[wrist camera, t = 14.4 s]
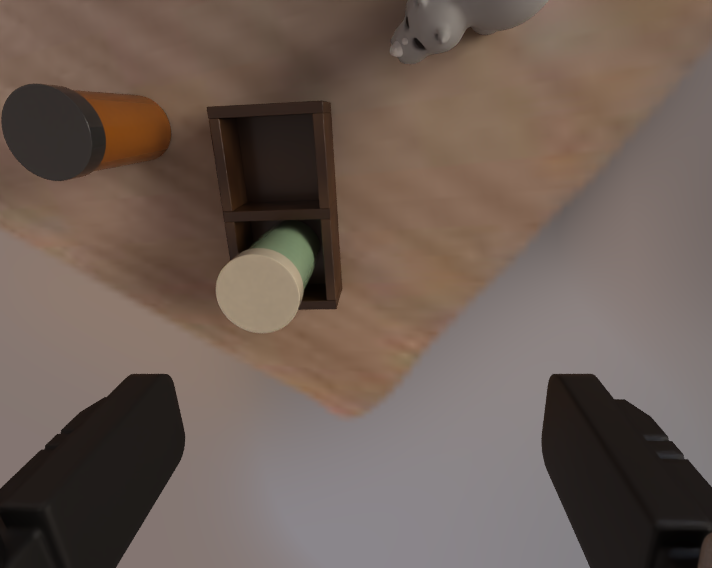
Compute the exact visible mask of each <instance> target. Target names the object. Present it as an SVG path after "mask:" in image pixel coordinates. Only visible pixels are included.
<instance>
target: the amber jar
mask: <svg viewBox="0 0 712 568" xmlns="http://www.w3.org/2000/svg"><path fill="white" fill-rule="evenodd" d="M1 119H2V130H3V134H4V138H5V140H6V143H7V145H8V147H9V149H10V150H11V152H12V154H13V155H14V156H15V158H16V159H17V160H18V161H19V162H20V163H21V164H22V165H23V166H24V167H25V168H26V169H27V170H29V171H30V172H32V173H33V174H35V175H37V176H39V177H42V178H44V179H48V180H53V181H64V180H70V179H74V178H79V177H83V176H86V175H88V174H90V173H92V172H94V171H99V170H104V169H109V168H114V167H120V166H125V165H130V164H135V163H140V162H146V161H151V160H154V159H157V158H159V157H160V156H161V155H163V154H164V153H165V151H166V150H167V148H168V146H169V144H170V140H171V128H170V123H169V121H168V118H167V116H166V114H165V113H164V111H163V110H162V109H161V107H160V106H159V105H158V104H157V103H155V102H154V101H152V100H151V99H149V98H147V97H144V96H140V95H130V94H117V93H104V92H91V91H78V90H71V89H69V88H66V87H63V86H57V85H47V84H28V85H24V86H21V87H20V88H18V89H16V90H15V91H14V92H12V93H11V94H10V96H9V97H8V98H7V100H6V102H5V104H4V107H3V110H2V118H1Z"/></svg>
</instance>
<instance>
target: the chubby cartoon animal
mask: <svg viewBox="0 0 712 568" xmlns="http://www.w3.org/2000/svg"><path fill="white" fill-rule="evenodd" d="M547 2H548V0H408V1H407V4H406V11H405V17H404V20H403V22H402V23H401V24H400V25H399V26H398V27H397V28H396V30H395V32H394V34H393V37H392V38H391V44H392V46H391V47H390V54H391V55H392V56H395V57H398V58H399V60H400V62H402V63H404V64H416V63H418V62H420V61H422V60H423V59H424V58H425V57H427V56H428V55H432V54H438V53H443V52H446V51H448V50H450V49H452V48H453V47H454V46H456V45H457V44H458V42H459V41H460V40H461V38H462V36H463V34H464V32H465V30H466V29H467V28H469V27H472V29H473V30H474V31H475V32H477V33H478V34H481V35H489V34H493V33H495V32H496V31H501V30H506V29H510V28H513V27H516V26H518V25H520V24H522V23H524V22H526V21H527V20H529V19H530V18H531V17H533V16H534V15H535V14H536V13H537V12H539V11H540V10H541V9H542V8H543V6H544V5H545V4H546V3H547Z"/></svg>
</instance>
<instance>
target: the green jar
mask: <svg viewBox="0 0 712 568" xmlns="http://www.w3.org/2000/svg"><path fill="white" fill-rule="evenodd" d="M320 253H321V247H320V242H319V239H318V237H317V235H316V233H315V232H314V231H313V230H312V229H311V228H310V227H309V226H308V225H306V224H305V223H303V222H300V221H297V220H282V221H279V222H277V223H275V224H274V225H272V226H271V227H270V228H269V229H268V230H267V231H266V232H265V233H264V234H263V235H261V236H260V237H259V238H258V239H257V240H256V241H255V242H254V243H253V244H252V245H251V246H250V247H249V248H248V249H247V250H245V251H243V252H241V253H239V254H238V255H236V256H235V257H234V258H233V259H232V260H230V261H229V262H228V263H227V264H226V265H225V266H224V267H223V269H222V270H221V272H220V273H219V275H218V278H217V282H216V297H217V301H218V304H219V306H220V308H221V310H222V312H223V313H224V315H225V316H226V317H227V318H228V319H229V320H230V321H231V322H232V323H234V324H235V325H236V326H238V327H240V328H242V329H244V330H246V331H250V332H254V333H270V332H274V331H277V330H279V329H281V328H283V327H285V326H286V325H287V324H288V323H290V322H291V320H292V319H293V318H294V316H295V315H296V313H297V311H298V308H299V306H300V304H301V302H302V298H303V292H304V289H305V287H306V285H307V283H308V281H309V279H310V277H311V275H312V273H313V271H314V269H315V267H316V265H317V263H318V260H319V258H320Z"/></svg>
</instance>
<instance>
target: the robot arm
mask: <svg viewBox="0 0 712 568" xmlns="http://www.w3.org/2000/svg"><path fill="white" fill-rule="evenodd" d="M184 446H185V432H184V427H183V423H182V418H181V414H180V409H179V405H178V400H177V396H176V391H175V387H174V383H173V380H172V378H171V377H170V376H169V375H168V374H131V375H129V376H128V377H127V378H126V379H125V380H123V382H121V384H119V385H118V386H117V387H116V389H115V390H113V391H112V393H110V395H108V396H107V397H104V398H103V399H101V400H99V401H98V402H96V403H94V404H93V405H91V406H90V407H88V408H86V409H85V410H83V411H81V412H80V413H79V414H78V415H77V416H76V417H75V418H73V420H71V421H70V422H69V423H68V424H67V425H66V426H65V427H64V428H63V429H62V430H61V434H57V435H56V436H55V437H54V438H53V439H52V440H51V441H50V442H48V444H46V445H45V449H44V450H41V451H39V452H38V453H37V454H36V455H35V456H34V457H33V458H32V459H31V460H30V461H29V462H28V463H27V464H26V465H25V466H24V467H22V468H21V469H20V470H19V471H18V472H17V473H16V474H15V475H14V476H13V477H12V478H11V479H10V480H9V481H8V482H7V483H6V484H5V485H4V486H3V487H2V488H1V489H0V568H116V567H117V565H118V563H119V561H120V560H121V558H122V557H123V554H124V553H125V552H126V550H127V548H128V547H129V545H130V543H131V542H132V540H133V538H134V537H135V535H136V533H137V532H138V530H139V528H140V527H141V525H142V523H143V522H144V520H145V518H146V517H147V515H148V513H149V512H150V510H151V509H152V507H153V505H154V504H155V502H156V500H157V499H158V497H159V495H160V494H161V492H162V490H163V489H164V487H165V485H166V484H167V482H168V480H169V479H170V477H171V476H172V474H173V472H174V471H175V469H176V467H177V465H178V464H179V462H180V460H181V457H182V455H183V451H184ZM542 453H543V458H544V462H545V466H546V469H547V471H548V473H549V476H550V478H551V480H552V482H553V485H554V487H555V489H556V491H557V494H558V496H559V498H560V500H561V503H562V505H563V507H564V509H565V512H566V514H567V516H568V518H569V521H570V523H571V525H572V528H573V530H574V532H575V534H576V537H577V539H578V541H579V543H580V546H581V548H582V550H583V552H584V555H585V557H586V559H587V561H588V564H589V566H590V568H712V487H711V486H710V485H709V484H708V482H707V481H706V480H705V479H704V478H703V477H702V476H701V474H700V473H699V472H698V471H697V470H696V469H695V467H694V466H693V465H692V464H691V463H690V462H689V460H687V459H684V455H683V453H682V452H681V451H680V450H679V449H678V448H677V447H676V445H675V444H674V443H673V442H672V441H669V440H668V436H667V435H666V434H665V433H664V432H663V430H662V429H661V428H660V427H659V426H658V425H657V423H656V422H655V421H654V420H653V419H652V418H651V417H650V416H649V415H647V414H646V413H644V412H643V411H641V410H640V409H638V408H637V407H635V406H634V405H632V404H631V403H629V402H628V401H626V400H619V399H617V400H616V399H613V397H612V396H611V395H610V393H609V392H608V391H607V390H606V389H605V387H604V386H603V385H602V383H601V382H600V381H599V380H598V378H597V377H596V376H595V375H593V374H553V375H552V376H551V377H550V379H549V383H548V389H547V397H546V405H545V413H544V421H543V429H542Z"/></svg>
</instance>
